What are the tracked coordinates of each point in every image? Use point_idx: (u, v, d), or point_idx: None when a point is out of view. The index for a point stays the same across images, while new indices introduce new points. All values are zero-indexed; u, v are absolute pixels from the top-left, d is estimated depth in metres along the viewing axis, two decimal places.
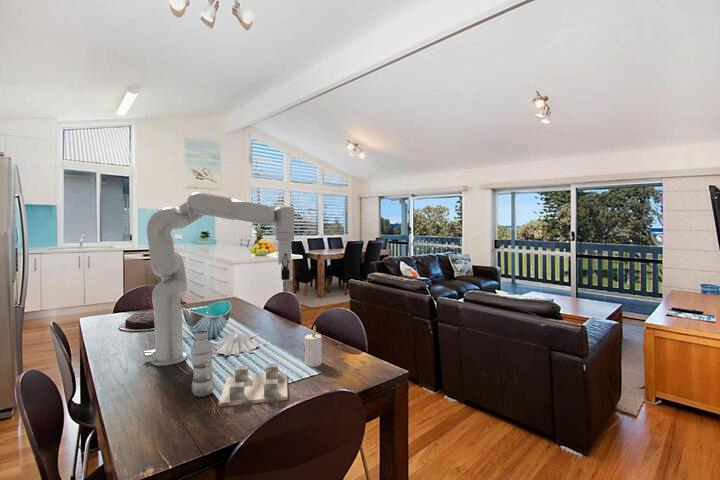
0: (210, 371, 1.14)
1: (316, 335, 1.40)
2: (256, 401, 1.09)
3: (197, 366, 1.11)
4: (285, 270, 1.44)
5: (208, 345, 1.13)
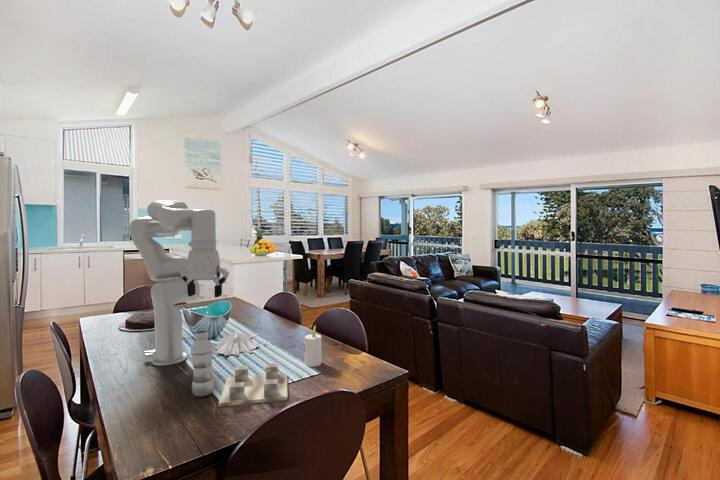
0: (210, 371, 1.14)
1: (316, 335, 1.40)
2: (256, 401, 1.09)
3: (197, 366, 1.11)
4: (220, 285, 1.22)
5: (208, 345, 1.13)
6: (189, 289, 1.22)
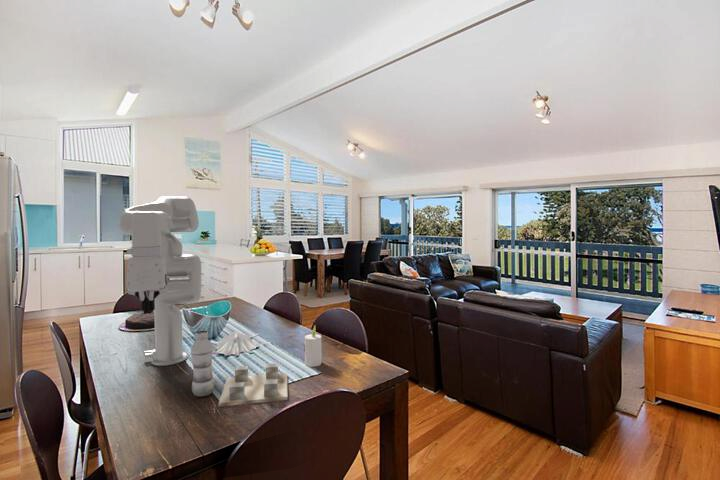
0: (210, 371, 1.14)
1: (316, 335, 1.40)
2: (256, 401, 1.09)
3: (197, 366, 1.11)
4: (153, 300, 1.10)
5: (208, 345, 1.13)
6: (145, 306, 1.08)
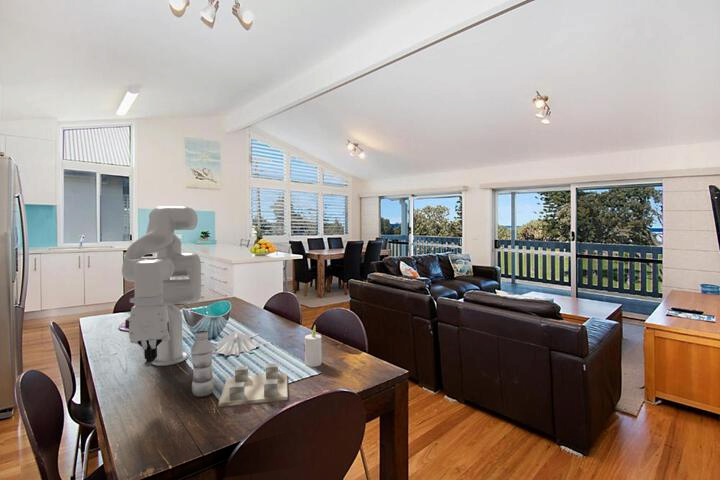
0: (210, 371, 1.14)
1: (316, 335, 1.40)
2: (256, 401, 1.09)
3: (197, 366, 1.11)
4: (156, 347, 1.11)
5: (208, 345, 1.13)
6: (148, 354, 1.09)
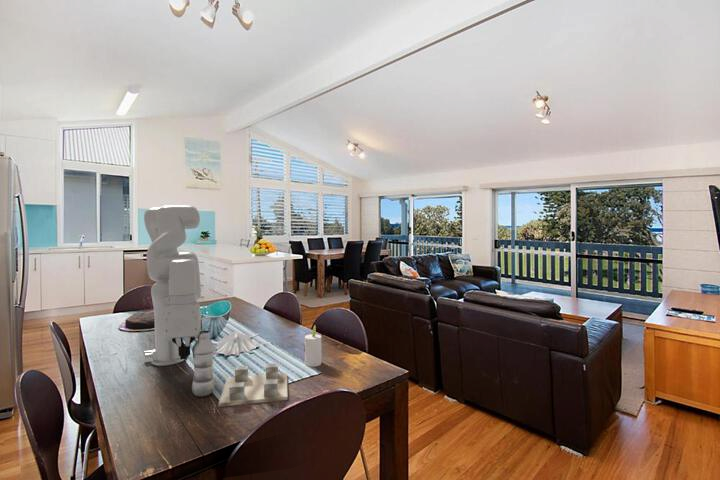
0: (211, 371, 1.14)
1: (316, 335, 1.40)
2: (256, 401, 1.09)
3: (198, 365, 1.11)
4: (189, 345, 1.13)
5: (210, 345, 1.13)
6: (182, 351, 1.11)
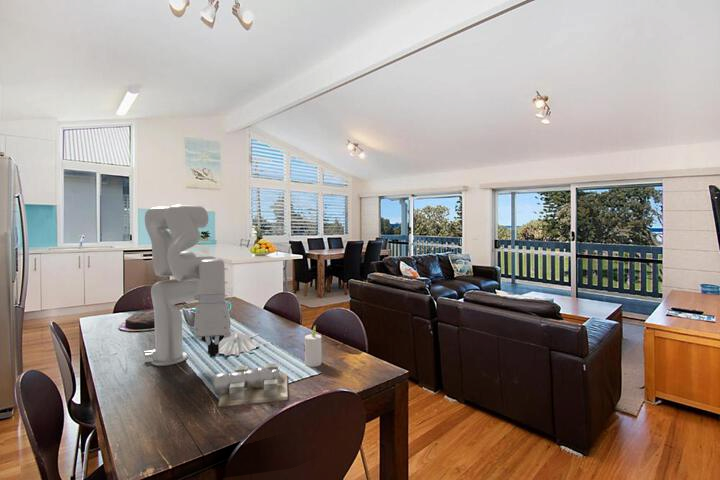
0: None
1: (316, 335, 1.40)
2: (256, 401, 1.09)
3: (247, 387, 1.14)
4: (218, 343, 1.15)
5: None
6: (211, 350, 1.13)
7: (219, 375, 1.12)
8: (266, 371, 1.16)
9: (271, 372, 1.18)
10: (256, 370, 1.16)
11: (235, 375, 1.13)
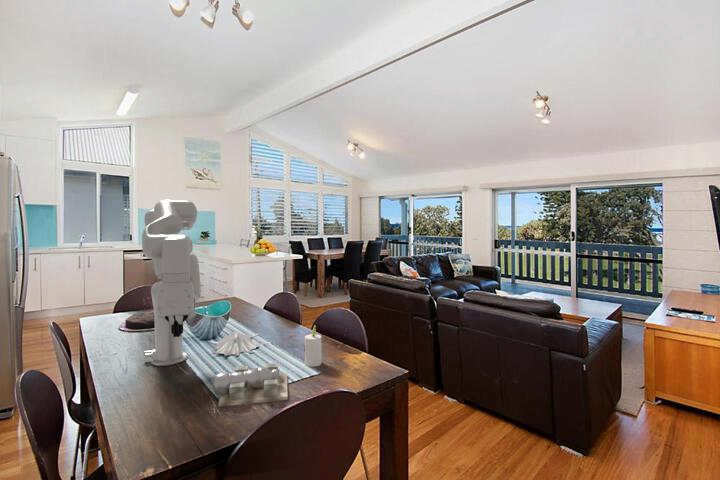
0: None
1: (316, 335, 1.40)
2: (256, 401, 1.09)
3: (247, 387, 1.14)
4: (182, 323, 1.13)
5: None
6: (174, 329, 1.11)
7: (219, 375, 1.12)
8: (266, 371, 1.16)
9: (271, 372, 1.18)
10: (256, 370, 1.16)
11: (235, 375, 1.13)
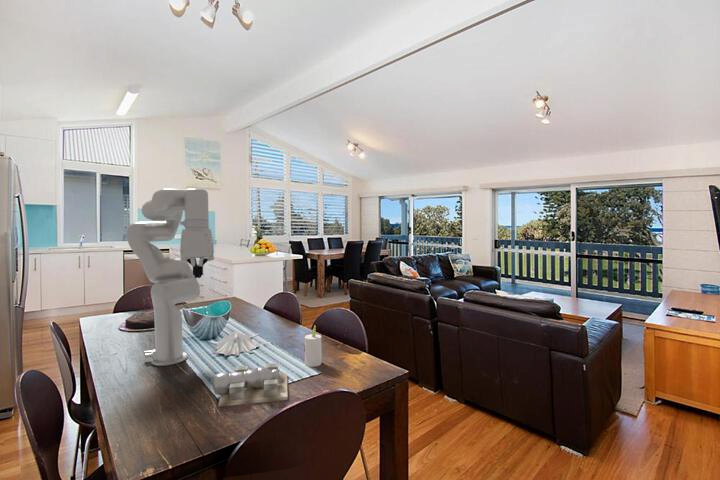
0: None
1: (316, 335, 1.40)
2: (256, 401, 1.09)
3: (247, 387, 1.14)
4: (202, 266, 1.26)
5: None
6: (196, 271, 1.25)
7: (219, 375, 1.12)
8: (266, 371, 1.16)
9: (271, 372, 1.18)
10: (256, 370, 1.16)
11: (235, 375, 1.13)
